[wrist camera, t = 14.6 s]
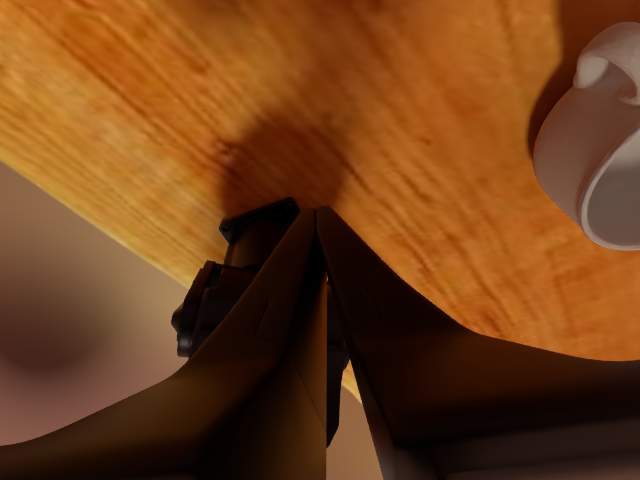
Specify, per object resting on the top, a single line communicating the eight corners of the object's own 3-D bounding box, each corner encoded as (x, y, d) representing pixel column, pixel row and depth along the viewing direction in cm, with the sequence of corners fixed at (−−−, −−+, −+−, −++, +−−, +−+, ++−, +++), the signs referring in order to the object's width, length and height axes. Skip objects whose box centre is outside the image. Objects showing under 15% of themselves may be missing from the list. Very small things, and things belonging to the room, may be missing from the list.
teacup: (680, 134, 23) (831, 185, 16) (530, 215, 26) (605, 283, 20) (674, -82, 15) (938, -140, 9) (469, 71, 19) (555, 105, 13)
